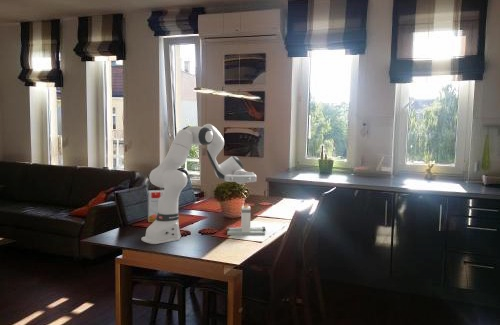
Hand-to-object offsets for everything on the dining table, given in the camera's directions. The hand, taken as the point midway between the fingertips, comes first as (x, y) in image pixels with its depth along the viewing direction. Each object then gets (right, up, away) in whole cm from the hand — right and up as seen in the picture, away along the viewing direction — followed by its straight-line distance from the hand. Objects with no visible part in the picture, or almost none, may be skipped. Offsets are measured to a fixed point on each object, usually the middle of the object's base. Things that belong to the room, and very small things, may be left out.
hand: (241, 180), depth 266 cm
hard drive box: (-54, -28, +18) cm, 63 cm away
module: (+3, -30, -9) cm, 31 cm away
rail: (+3, -30, -9) cm, 31 cm away
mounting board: (+3, -31, -9) cm, 32 cm away
